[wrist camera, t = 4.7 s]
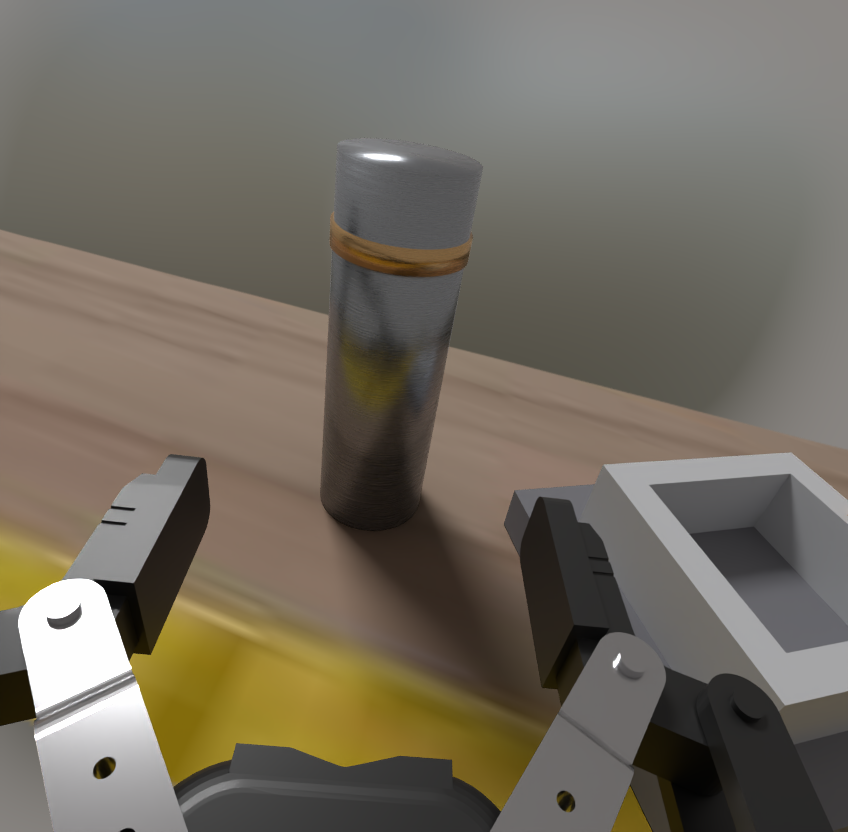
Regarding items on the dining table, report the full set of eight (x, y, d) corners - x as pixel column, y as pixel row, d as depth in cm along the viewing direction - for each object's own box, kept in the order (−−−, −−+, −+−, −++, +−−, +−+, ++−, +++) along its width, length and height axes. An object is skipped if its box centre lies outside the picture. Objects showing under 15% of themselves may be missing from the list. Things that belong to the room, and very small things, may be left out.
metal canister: (323, 537, 22) (345, 165, 14) (313, 462, 26) (325, 131, 18) (433, 526, 24) (508, 181, 16) (408, 457, 27) (459, 146, 19)
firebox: (683, 894, 14) (795, 808, 11) (504, 523, 24) (535, 423, 21) (972, 798, 17) (1123, 709, 14) (708, 504, 27) (762, 414, 24)
